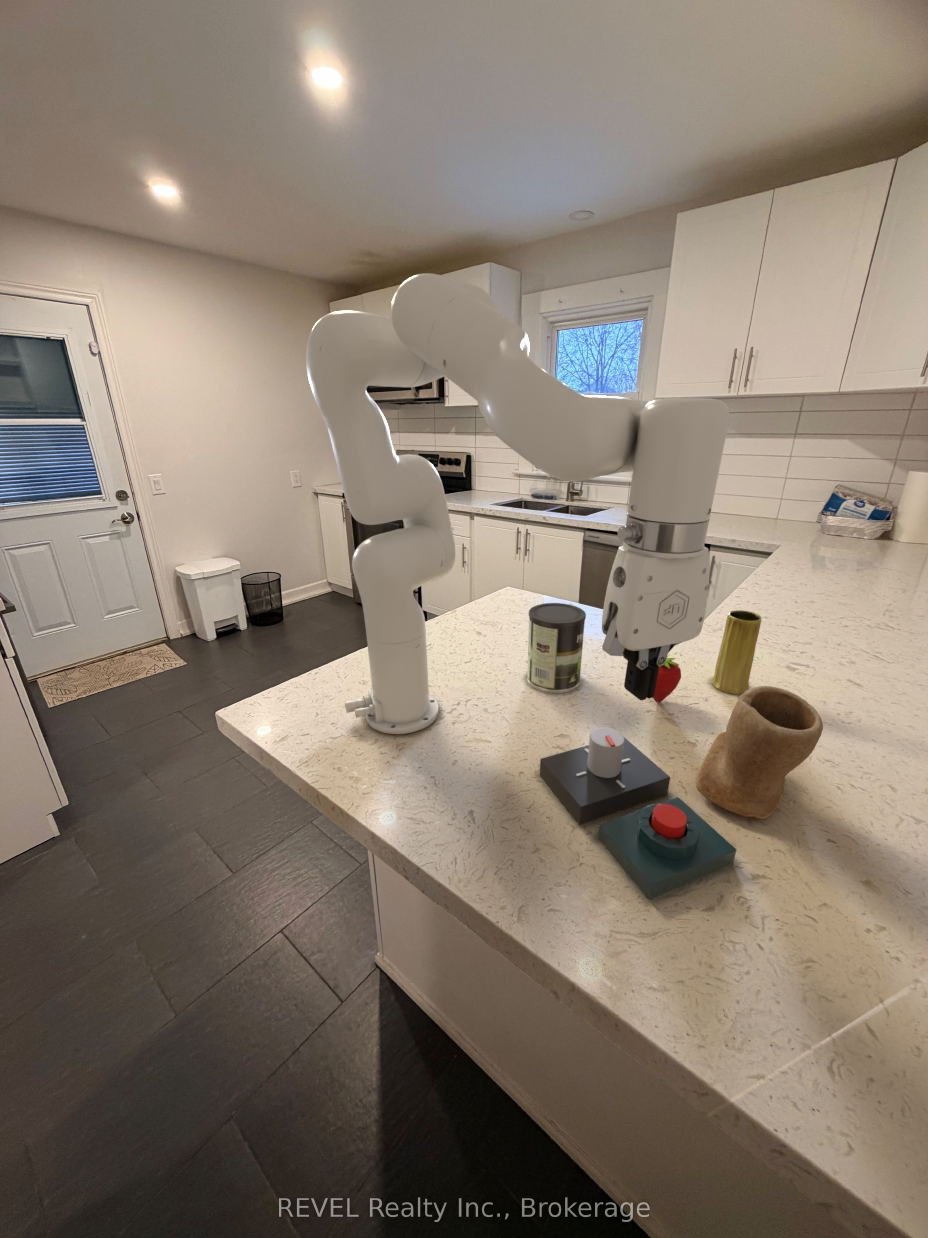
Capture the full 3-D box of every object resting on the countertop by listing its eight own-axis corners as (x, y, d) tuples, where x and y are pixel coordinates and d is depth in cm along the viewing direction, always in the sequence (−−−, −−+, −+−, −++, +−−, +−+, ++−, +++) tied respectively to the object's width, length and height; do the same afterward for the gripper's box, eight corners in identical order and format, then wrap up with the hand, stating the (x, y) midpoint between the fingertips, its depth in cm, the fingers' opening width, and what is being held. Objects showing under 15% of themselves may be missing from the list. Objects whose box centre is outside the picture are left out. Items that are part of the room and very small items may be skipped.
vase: (747, 681, 94) (763, 611, 88) (749, 697, 89) (766, 624, 83) (711, 675, 96) (725, 607, 91) (711, 690, 91) (725, 619, 85)
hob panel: (579, 825, 62) (580, 806, 61) (539, 775, 70) (540, 757, 69) (667, 795, 67) (670, 776, 65) (620, 751, 75) (622, 734, 74)
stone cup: (787, 844, 59) (820, 739, 53) (684, 798, 66) (703, 702, 60) (806, 776, 69) (836, 683, 64) (716, 743, 76) (735, 657, 71)
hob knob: (582, 758, 69) (585, 726, 67) (613, 755, 70) (617, 724, 68) (593, 779, 65) (596, 746, 63) (625, 777, 66) (630, 744, 63)
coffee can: (579, 669, 99) (585, 603, 94) (580, 696, 90) (586, 625, 85) (528, 665, 101) (530, 600, 96) (523, 691, 92) (526, 621, 87)
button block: (648, 900, 52) (653, 872, 51) (597, 837, 60) (600, 812, 59) (733, 863, 56) (740, 837, 55) (675, 809, 64) (680, 785, 63)
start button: (666, 843, 55) (668, 831, 54) (644, 820, 58) (646, 809, 57) (691, 833, 56) (694, 822, 55) (668, 811, 59) (670, 800, 58)
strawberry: (630, 702, 88) (637, 651, 84) (654, 688, 92) (661, 639, 88) (660, 716, 84) (669, 663, 80) (684, 701, 88) (693, 650, 84)
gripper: (626, 551, 43) (603, 725, 51) (752, 536, 48) (714, 697, 55) (578, 532, 50) (563, 689, 57) (694, 520, 55) (667, 666, 62)
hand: (638, 692), depth 56 cm, fingers closed
